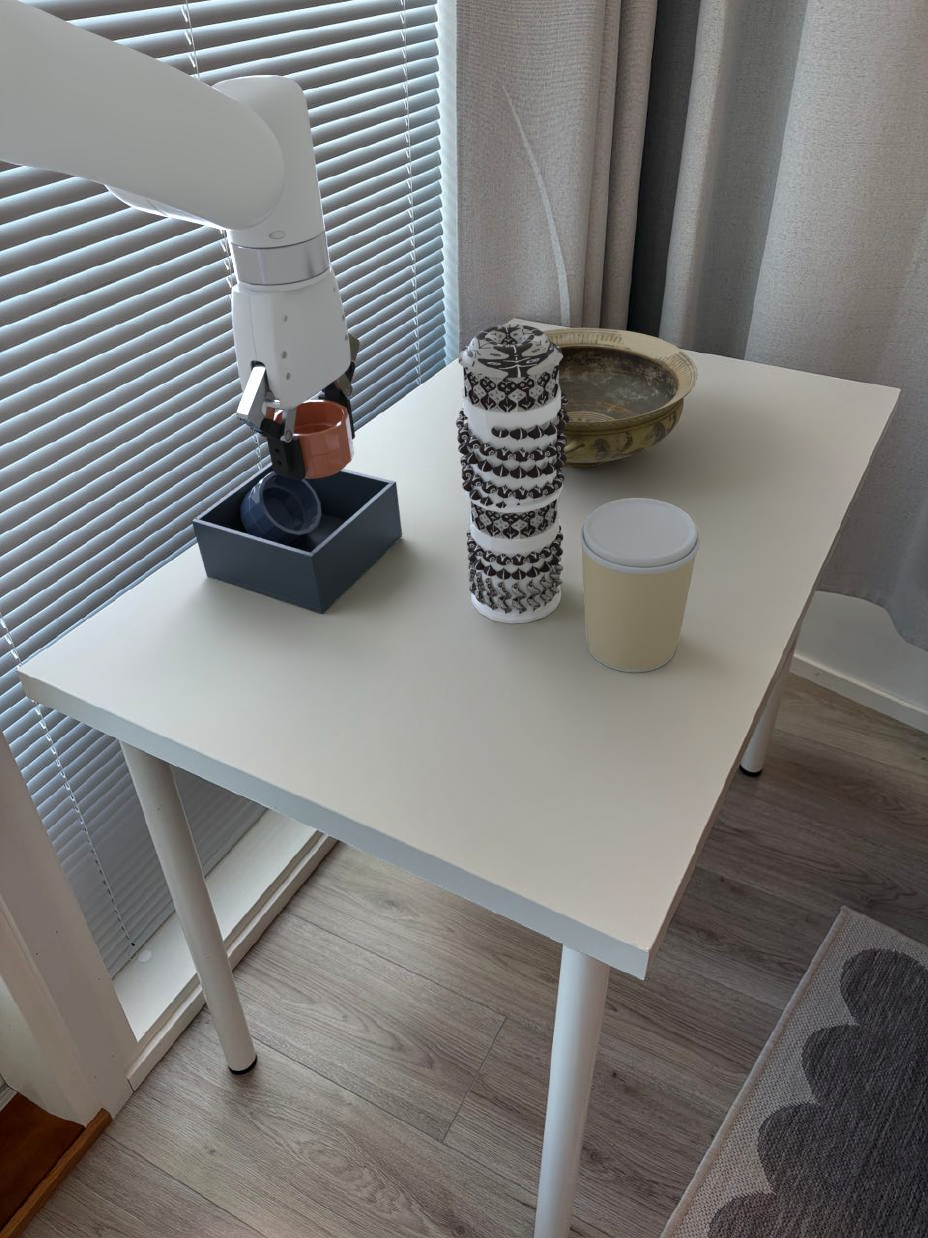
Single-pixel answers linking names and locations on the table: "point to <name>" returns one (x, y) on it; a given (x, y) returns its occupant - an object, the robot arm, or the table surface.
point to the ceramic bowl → (618, 391)
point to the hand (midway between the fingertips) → (315, 454)
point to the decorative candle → (513, 471)
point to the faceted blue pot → (281, 510)
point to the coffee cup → (636, 581)
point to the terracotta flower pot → (322, 436)
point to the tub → (304, 541)
